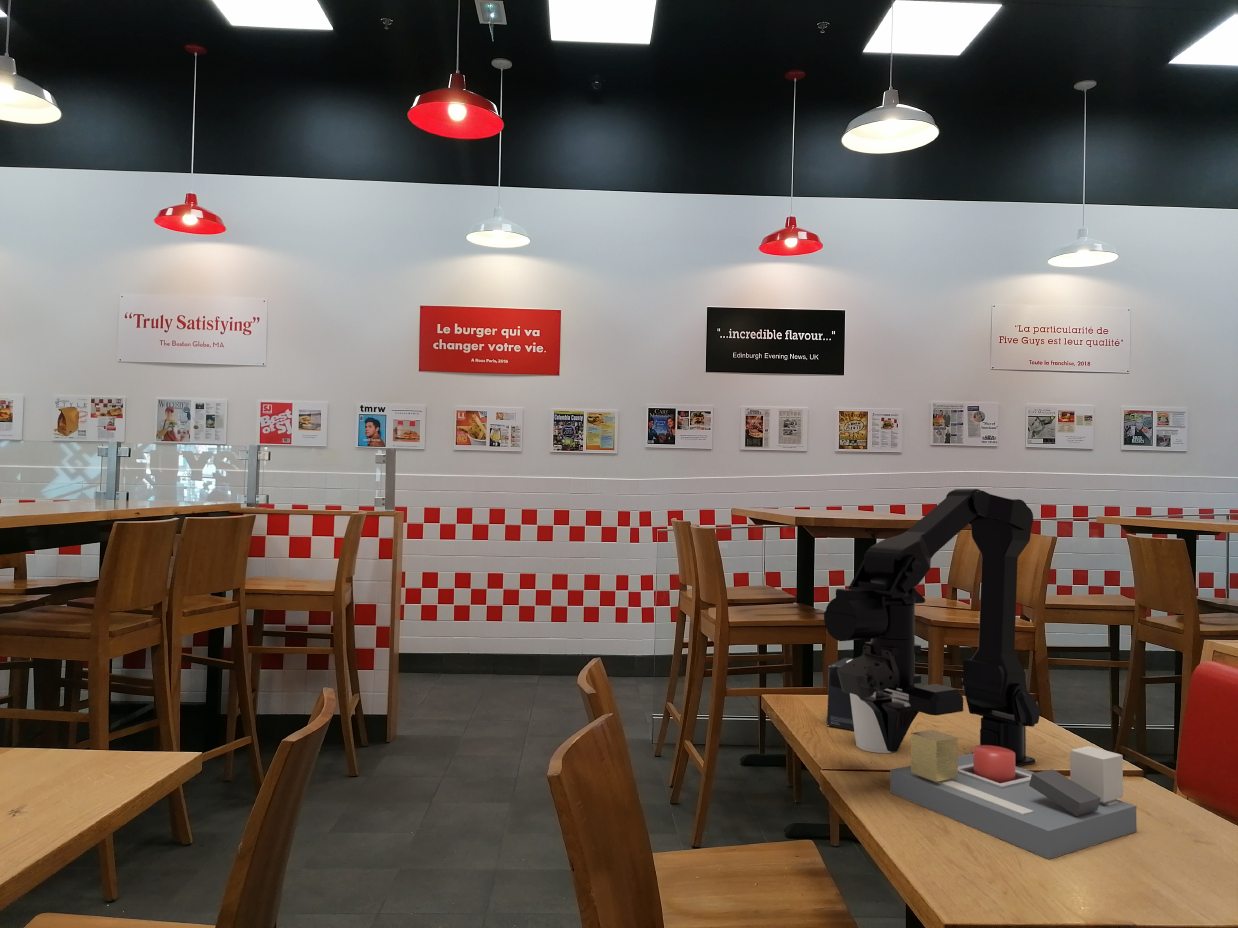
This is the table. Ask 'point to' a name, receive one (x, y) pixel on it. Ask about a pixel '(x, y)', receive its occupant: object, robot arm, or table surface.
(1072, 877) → the table surface
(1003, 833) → the panel
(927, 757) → the brass slider
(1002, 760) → the red button
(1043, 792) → the block
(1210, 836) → the table surface
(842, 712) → the small box
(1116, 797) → the ivory slider
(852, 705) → the foam cup
